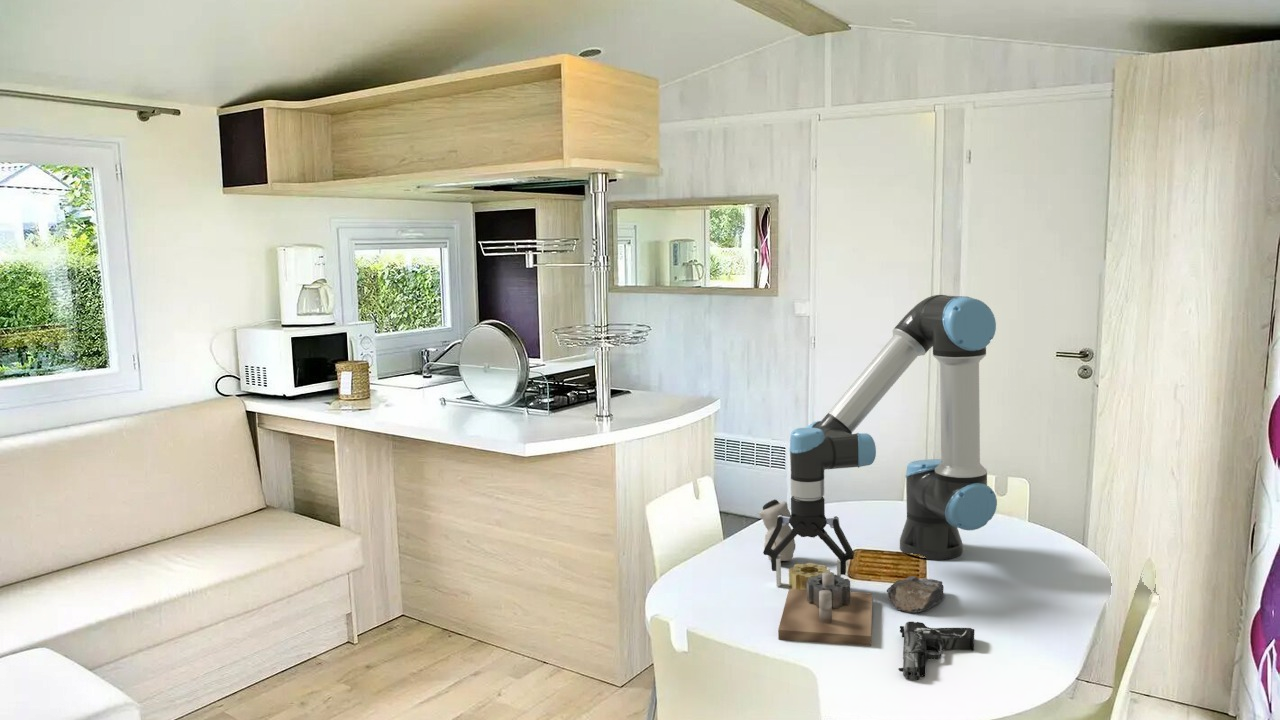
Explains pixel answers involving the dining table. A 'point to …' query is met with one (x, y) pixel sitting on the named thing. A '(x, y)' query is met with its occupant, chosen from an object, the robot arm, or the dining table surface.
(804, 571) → the brass gear
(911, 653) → the handgun
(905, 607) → the rock
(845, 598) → the grey gear
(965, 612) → the dining table surface
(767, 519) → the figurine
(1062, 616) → the dining table surface
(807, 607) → the board
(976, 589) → the dining table surface
